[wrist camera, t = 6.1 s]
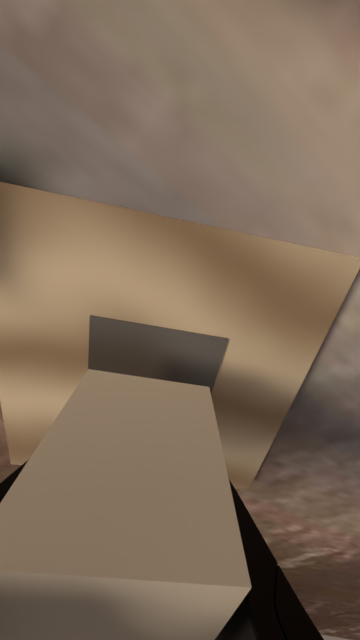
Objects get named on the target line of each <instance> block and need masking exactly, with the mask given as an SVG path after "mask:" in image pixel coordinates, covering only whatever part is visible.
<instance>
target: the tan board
mask: <svg viewBox="0 0 360 640" xmlns="http://www.w3.org/2000/svg"><path fill="white" fill-rule="evenodd" d="M359 269H360V258H358V257H354V256H349V255H344V254H340V253H335V252H330V251H325V250H321V249H316V248H311V247H306V246H302V245H297V244H292V243H288V242H283V241H278V240H273V239H269V238H264V237H259V236H254V235H250V234H245V233H240V232H236V231H231V230H226V229H221V228H217V227H212V226H207V225H202V224H198V223H193V222H188V221H184V220H179V219H174V218H169V217H165V216H160V215H155V214H150V213H146V212H141V211H136V210H132V209H127V208H122V207H117V206H113V205H108V204H103V203H98V202H94V201H89V200H84V199H80V198H75V197H70V196H65V195H61V194H56V193H51V192H46V191H42V190H37V189H32V188H28V187H23V186H18V185H13V184H9V183H4V182H0V401H1V407H2V413H3V419H4V426H5V432H6V438H7V444H8V450H9V456H10V462H11V464H15V465H23V464H24V463H25V462H26V461H27V460H28V459H30V457H31V456H32V454H33V453H34V451H35V450H36V448H37V447H38V445H39V444H40V442H41V440H42V439H43V437H44V436H45V434H46V433H47V431H48V430H49V428H50V427H51V425H52V424H53V422H54V421H55V419H56V418H57V416H58V415H59V413H60V412H61V410H62V409H63V407H64V406H65V404H66V402H67V401H68V399H69V398H70V396H71V395H72V393H73V392H74V390H75V389H76V387H77V386H78V384H79V383H80V381H81V380H82V378H83V377H84V375H85V374H86V372H87V371H88V369H91V370H98V371H105V372H111V373H118V374H125V375H132V376H139V377H145V378H152V379H159V380H166V381H172V382H179V383H186V384H193V385H200V386H206V387H209V388H210V393H211V397H212V402H213V407H214V412H215V416H216V421H217V426H218V431H219V435H220V440H221V445H222V450H223V454H224V459H225V464H226V468H227V473H228V477H229V479H230V481H231V483H232V484H233V486H234V488H236V489H246V490H249V488H250V486H251V484H252V482H253V480H254V478H255V476H256V474H257V472H258V470H259V468H260V466H261V464H262V462H263V460H264V458H265V456H266V454H267V452H268V450H269V448H270V446H271V444H272V442H273V440H274V438H275V436H276V434H277V432H278V430H279V428H280V426H281V424H282V422H283V420H284V418H285V416H286V414H287V412H288V410H289V408H290V406H291V404H292V402H293V400H294V398H295V396H296V395H297V393H298V391H299V389H300V387H301V385H302V383H303V381H304V379H305V377H306V375H307V373H308V371H309V369H310V367H311V365H312V363H313V361H314V359H315V357H316V355H317V353H318V351H319V349H320V347H321V345H322V343H323V341H324V339H325V337H326V335H327V333H328V331H329V329H330V327H331V325H332V323H333V321H334V319H335V317H336V315H337V313H338V311H339V309H340V307H341V305H342V303H343V301H344V299H345V297H346V295H347V293H348V291H349V289H350V287H351V285H352V283H353V281H354V279H355V277H356V275H357V273H358V271H359Z"/></svg>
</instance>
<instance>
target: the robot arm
mask: <svg viewBox="0 0 360 640" xmlns="http://www.w3.org/2000/svg"><path fill="white" fill-rule="evenodd" d="M28 460H29V459H28ZM28 460H27V461H26V462H25V463H24V464H23V465H21V466H20V467H19V468H18V469H17V470H16V471H14V472H13V473H12V474H11V475H10V476H9V477H7V478H6V479H5V480H4V481H3V482H1V483H0V503H1V501H2V500H3V498H4V497H5V495H6V494H7V492H8V491H9V489H10V488H11V486H12V485H13V483H14V481H15V480H16V478H17V477H18V475H19V474H20V472H21V471H22V469H23V468H24V466H25V465H26V463H27V462H28ZM228 478H229V477H228ZM229 483H230V487H231V492H232V497H233V502H234V506H235V511H236V516H237V521H238V525H239V530H240V535H241V539H242V544H243V549H244V554H245V558H246V563H247V568H248V573H249V577H250V582H251V587H252V588H251V589H250V591H249V592H248V594H247V595H246V596H245V598H244V599H243V601H242V602H241V603H240V605H239V606H238V608H237V609H236V610H235V612H234V613H233V615H232V616H231V618H230V619H229V620H228V622H227V623H226V625H225V626H224V627H223V629H222V630H221V632H220V633H219V634H218V636H217V637H216V639H215V640H324V639H323V638H322V636H321V634H320V633H319V631H318V630H317V628H316V627H315V625H314V623H313V622H312V620H311V619H310V617H309V616H308V614H307V612H306V611H305V609H304V607H303V606H302V604H301V602H300V601H299V599H298V597H297V596H296V594H295V592H294V591H293V589H292V587H291V585H290V584H289V582H288V580H287V579H286V577H285V575H284V573H283V572H282V570H281V568H280V566H277V561H276V559H275V558H274V556H273V554H272V552H271V551H270V549H269V547H268V545H267V544H266V542H265V540H264V538H263V537H262V535H261V533H260V531H259V530H258V528H257V526H256V524H255V523H254V521H253V519H252V517H251V516H250V514H249V512H248V510H247V509H246V507H245V505H244V503H243V502H242V500H241V498H240V497H239V495H238V493H237V491H236V490H235V488H234V486H233V484H232V483H231V481H230V479H229Z"/></svg>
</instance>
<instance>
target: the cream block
mask: <svg viewBox="0 0 360 640" xmlns="http://www.w3.org/2000/svg"><path fill="white" fill-rule="evenodd" d="M251 588H252V587H251V582H250V577H249V573H248V568H247V563H246V558H245V554H244V549H243V544H242V539H241V535H240V530H239V525H238V521H237V516H236V511H235V506H234V502H233V497H232V492H231V487H230V483H229V478H228V473H227V468H226V464H225V459H224V454H223V450H222V445H221V440H220V435H219V431H218V426H217V421H216V416H215V412H214V407H213V402H212V397H211V393H210V388H209V387H206V386H200V385H193V384H186V383H179V382H172V381H166V380H159V379H152V378H145V377H139V376H132V375H125V374H118V373H111V372H105V371H98V370H91V369H88V371H87V372H86V374H85V375H84V377H83V378H82V380H81V381H80V383H79V384H78V386H77V387H76V389H75V390H74V392H73V393H72V395H71V396H70V398H69V399H68V401H67V402H66V404H65V406H64V407H63V409H62V410H61V412H60V413H59V415H58V416H57V418H56V419H55V421H54V422H53V424H52V425H51V427H50V428H49V430H48V431H47V433H46V434H45V436H44V437H43V439H42V440H41V442H40V444H39V445H38V447H37V448H36V450H35V451H34V453H33V454H32V456H31V457H30V459H29V460H28V462H27V463H26V465H25V466H24V468H23V469H22V471H21V472H20V474H19V475H18V477H17V478H16V480H15V481H14V483H13V485H12V486H11V488H10V489H9V491H8V492H7V494H6V495H5V497H4V498H3V500H2V501H1V503H0V640H215V639H216V637H217V636H218V634H219V633H220V632H221V630H222V629H223V627H224V626H225V625H226V623H227V622H228V620H229V619H230V618H231V616H232V615H233V613H234V612H235V610H236V609H237V608H238V606H239V605H240V603H241V602H242V601H243V599H244V598H245V596H246V595H247V594H248V592H249V591H250V589H251Z"/></svg>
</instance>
